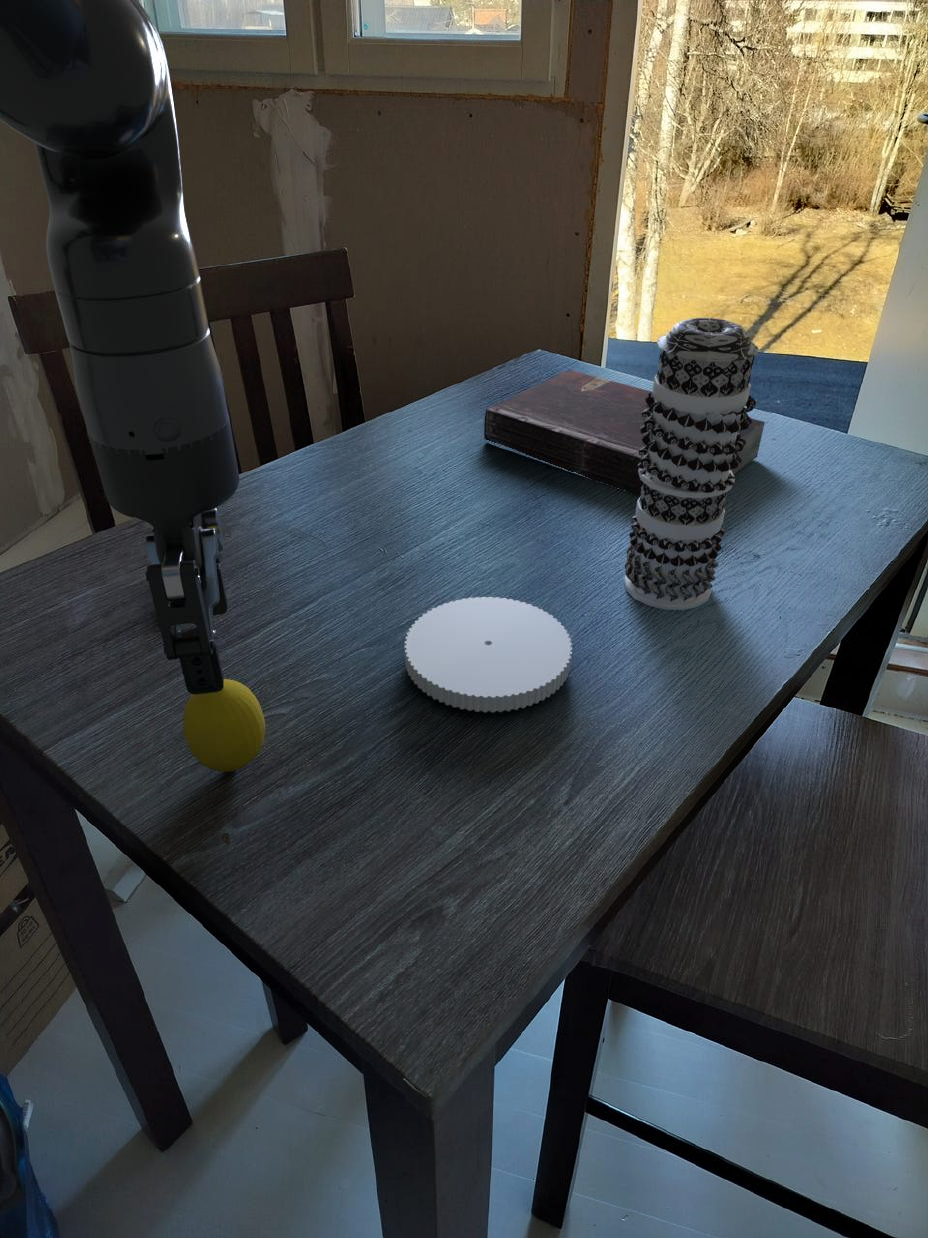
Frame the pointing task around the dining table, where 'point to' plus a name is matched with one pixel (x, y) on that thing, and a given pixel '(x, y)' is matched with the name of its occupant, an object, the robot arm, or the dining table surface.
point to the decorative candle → (689, 461)
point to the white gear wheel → (488, 654)
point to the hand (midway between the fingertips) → (209, 649)
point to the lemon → (224, 727)
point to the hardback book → (586, 427)
